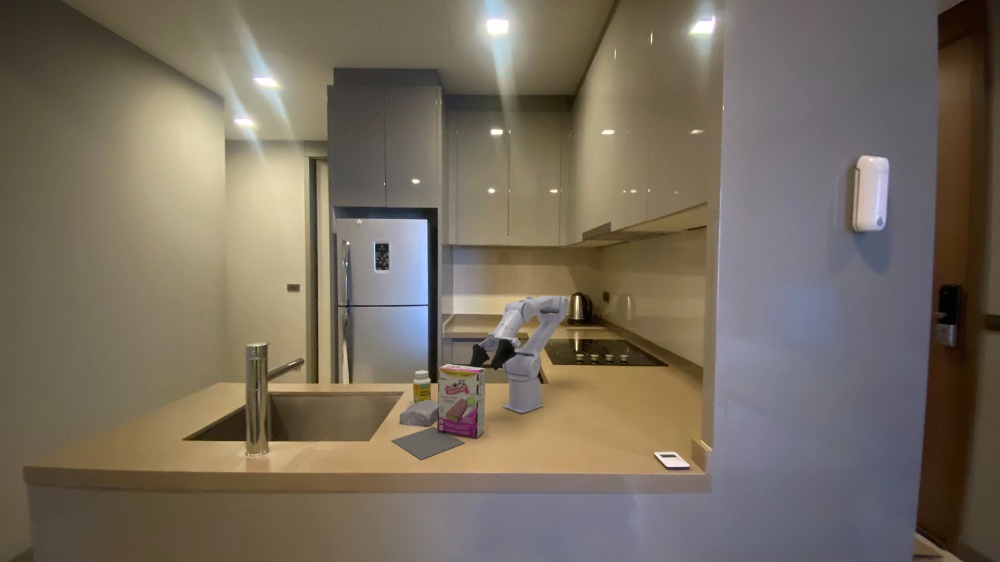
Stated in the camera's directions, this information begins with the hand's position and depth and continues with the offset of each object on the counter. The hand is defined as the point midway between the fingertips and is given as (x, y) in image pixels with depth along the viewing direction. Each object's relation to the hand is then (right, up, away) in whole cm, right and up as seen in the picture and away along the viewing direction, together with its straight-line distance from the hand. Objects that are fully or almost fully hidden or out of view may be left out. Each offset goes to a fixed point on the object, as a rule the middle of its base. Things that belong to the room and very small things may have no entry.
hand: (482, 368), depth 99 cm
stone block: (-17, -16, +11) cm, 26 cm away
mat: (-13, -16, -5) cm, 21 cm away
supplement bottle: (-20, -16, +23) cm, 34 cm away
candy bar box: (-6, -16, +1) cm, 17 cm away
